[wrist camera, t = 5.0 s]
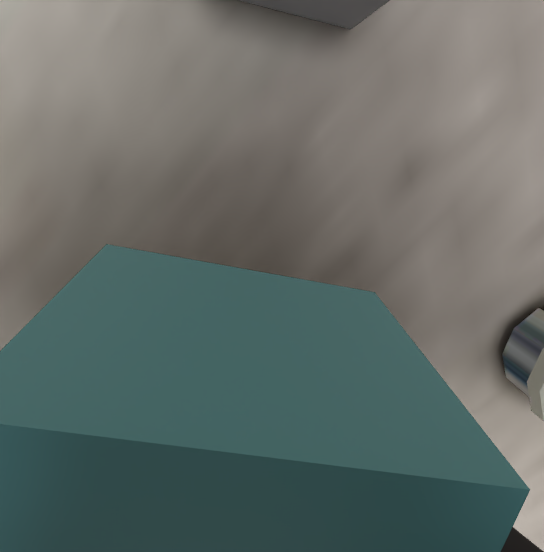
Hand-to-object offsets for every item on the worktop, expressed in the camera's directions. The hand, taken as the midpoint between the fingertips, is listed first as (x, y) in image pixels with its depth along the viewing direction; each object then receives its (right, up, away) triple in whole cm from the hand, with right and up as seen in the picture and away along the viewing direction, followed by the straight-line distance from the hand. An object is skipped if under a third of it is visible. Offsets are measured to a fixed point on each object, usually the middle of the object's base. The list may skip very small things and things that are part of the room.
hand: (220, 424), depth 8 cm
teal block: (0, 0, +1) cm, 1 cm away
